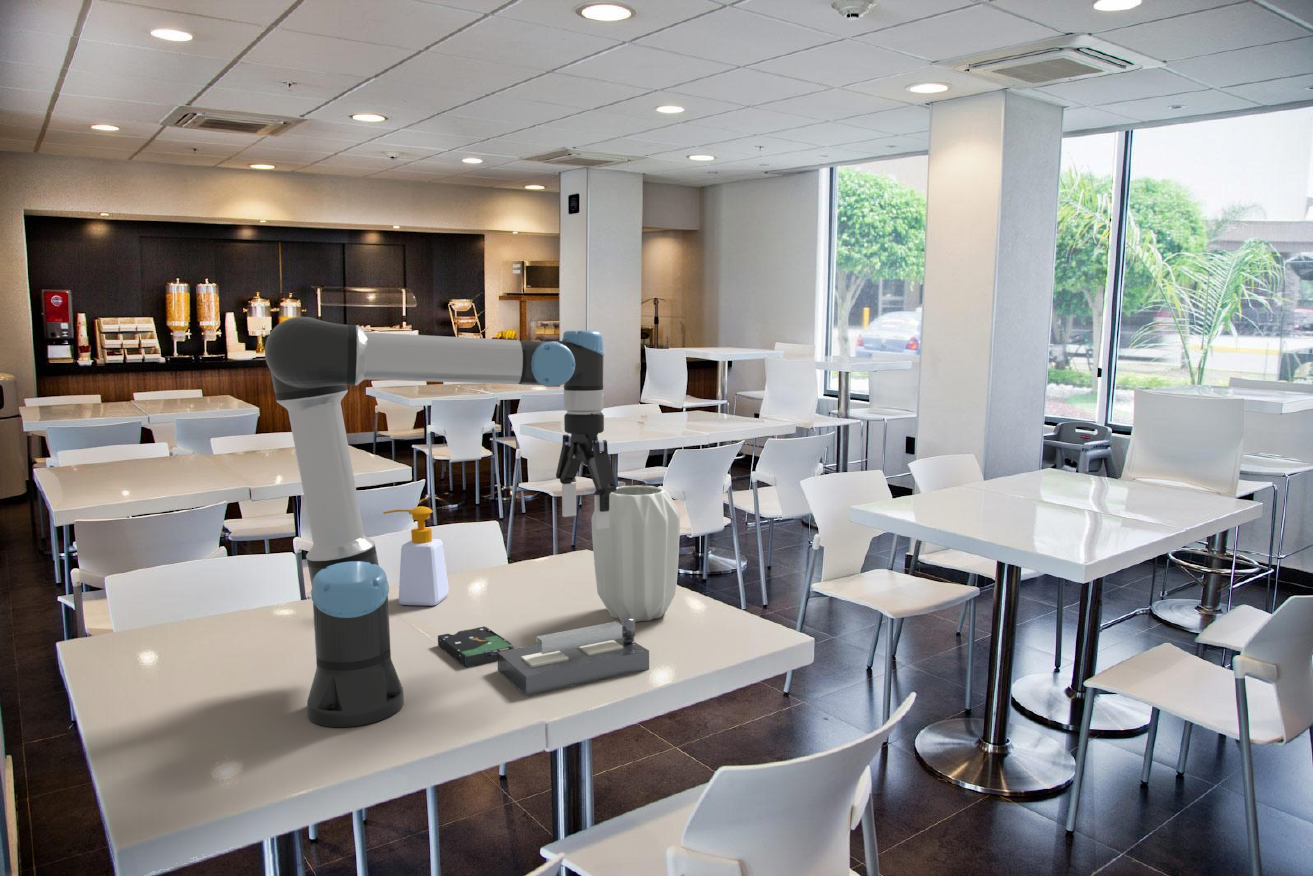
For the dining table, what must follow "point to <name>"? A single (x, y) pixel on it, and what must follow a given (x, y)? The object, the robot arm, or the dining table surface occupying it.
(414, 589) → the soap bottle
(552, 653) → the label
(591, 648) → the label
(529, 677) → the plate
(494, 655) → the disk drive
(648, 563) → the vase
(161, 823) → the dining table surface
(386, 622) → the robot arm
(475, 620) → the dining table surface
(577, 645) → the gray rectangular bar
